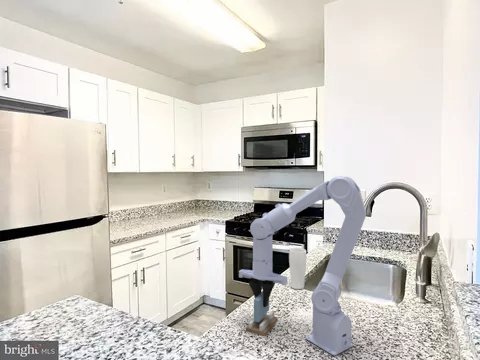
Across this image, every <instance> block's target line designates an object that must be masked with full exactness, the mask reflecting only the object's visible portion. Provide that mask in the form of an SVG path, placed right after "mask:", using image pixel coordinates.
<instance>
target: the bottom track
mask: <svg viewBox="0 0 480 360" xmlns="http://www.w3.org/2000/svg"><path fill="white" fill-rule="evenodd" d="M277 322H278V316H275V311H274V310H272V311H270V313H268V314H265V316H264V317H263V318H262V319H261V320H260V322H256V321H254V317H253V318H252V319H251V320H250V321H249V322H248V325H247V326H245V332H247V333H252V334H255V335H258V336H262V337H266V336H267V335H268V334H269V333H270V331H271V330H272V329H273V327H274V326H275V325H276V323H277Z"/></svg>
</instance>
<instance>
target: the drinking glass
mask: <svg viewBox="0 0 480 360" xmlns="http://www.w3.org/2000/svg"><path fill="white" fill-rule="evenodd" d="M288 263H289V276H290V287H291V288H292V289H294V290H303V289H304V288H305V281H306V280H305V279H306V270H307V269H306V268H307V250H306V249H305V248H298V247H293V248H290V249H289V252H288Z"/></svg>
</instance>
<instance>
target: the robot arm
mask: <svg viewBox="0 0 480 360" xmlns="http://www.w3.org/2000/svg"><path fill="white" fill-rule="evenodd" d="M328 200H333V201H334V202H335V203H336V204H337V205H338V206H339V207H340V209H341V211H342V212H343V214H344V216H345V217H344V218H343V222H342V225H341V228H340V230H339V233H338V236H337V238H336V242H335V244H334V247H333V248H332V252H331V255H330V258H329V260H328V263H327V266H326V269H325V272H323V275H322V278H321V280H319V282H318V284H317V286H316V288H315V289H314V290H313V292H312V293H311V298H310V299H311V303H312V333H311V334H309V335H306V336H305V340H307V341H308V342H310V343H312V344H314V345H315V346H317V347H319V348H320V349H322V350H324V351H325V352H327V353H329V354H330V355H332V356H337V355H339V354H340V353H342V352H344V351H346V350H349V349H350V348H351V347H354V344H353V343H352V319H351V318H350V317H349V316H348V315H346V314H345V313H344V312H343V310H342V306H341V304H340V302H339V298H340V296H341V295H342V287H341V284H342V281H343V278H344V276H345V273H346V270H347V267H348V265H349V262H350V259H351V256H352V255H353V251H354V249H355V245H356V243H357V240H358V238H359V235H360V233H361V231H362V227H363V225H364V222H365V219H366V218H367V209H366V207H365V203H364V199H363V196H362V193H361V188H360V187H359V185H358V184H357V183H356V181H355V180H354V179H352V178H351V177H349V176H345V175H344V176H343V175H337V176H334V177H332V178H331V179H330V180H328V181H327V180H326V181H324V182H323V183H321V184H318V185H317V186H315V187H314V188H312V189H311V190H309V191H307V192H306V193H305V194H303V195H302V196H301V197H298V198H297V199H296V200H294V201H293V202H292V203H289V204H288V203H286V202H284V203H283V202H282V203H277V204H275V205H274V207H275V208H273V209H272V210H271V211H269V212H264V213H263V214H262V217H261V218H255V219H254V220H253V221H252V222H251V224H250V229H249V230H250V231H249V232H250V233H251V235H252V269H240V270H239V271H238V278H241V279H242V278H246V279H250V281H248V284H249V287H250V288H251V291H252V294H253V297H254V299H255V298H256V297H257V296H258V295H259V294H260V293H261V292H262V291H263V307H266V306H267V305H268V301H269V302H270V297H271V295H272V294H271V293H272V291H273V289H274V287H275V284H280V285H281V286H286V285H287V284H288V276H285V275H282V274H278V273H275V272H273V235H274V234H275V232H278V231H279V230H281V229H282V228H285V227H286V226H288V225H289V224H291V223H293V222H294V221H295V220H296V215H297V214H298V213H300V212H302V211H303V210H305V209H308V207H311V206H312V205H314V204H315V203H317V202H319V201H328Z"/></svg>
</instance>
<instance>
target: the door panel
mask: <svg viewBox="0 0 480 360" xmlns="http://www.w3.org/2000/svg"><path fill="white" fill-rule="evenodd" d="M269 311H270V300H269V301H268V305H267V306H266V307H263V290H261V293H260V294H259V295H258V296H257V297H256V298H255V297H254V299H253V318H254V321H256V322H260V320H261V319H262V318H263V317H264V316H265V315H267V314H268V312H269Z"/></svg>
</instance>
